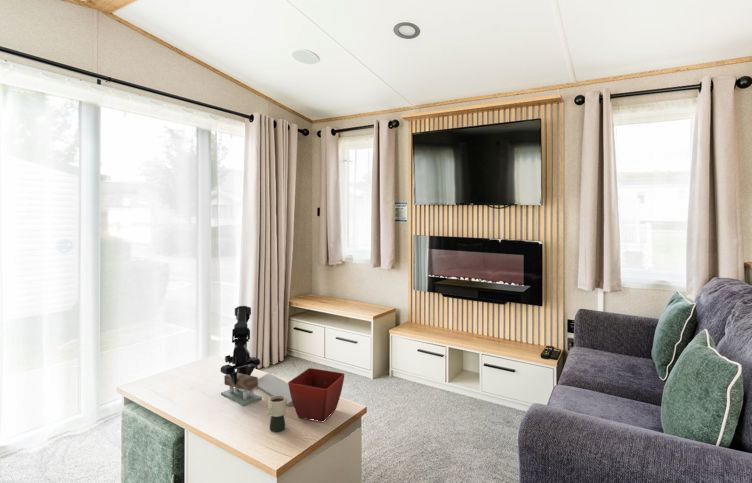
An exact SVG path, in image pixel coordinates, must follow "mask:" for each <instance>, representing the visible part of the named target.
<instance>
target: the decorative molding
mask: <svg viewBox="0 0 752 483" xmlns="http://www.w3.org/2000/svg"><path fill="white" fill-rule="evenodd" d="M256 388H258V389H260V390H261V391H263V392H265V393H266V394H268V395H270V397H272V396H276V395H283V396H285V397H286V399H287V405H286V407H291V406H294V405H293V402H292V398H291V395H290V390H289V384H288V382H286V381H285V380H283V379H281V378H279V377H278V376H275V375H274V374H272V373H270V372H268V373H266V374H265V375H263V376H261V377H260V378H258V386H257V387H256Z"/></svg>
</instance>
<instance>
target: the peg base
mask: <svg viewBox="0 0 752 483" xmlns="http://www.w3.org/2000/svg"><path fill="white" fill-rule="evenodd" d="M228 388H229V389H227V390H225V391H222V392H220V395H221V396H223V397H225V398H227V399H229V400H231V401H232V402H234V403H236V404H238V405H240V406H242V407H245V406H248V405H250V404H253V403H256V402H259V401H261V400H262V399H263V398H262V396H260V395H257V394H256V393H254V389H252V390H250V391H248V390H244V389H240V388H236V387H232V386H228Z"/></svg>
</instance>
